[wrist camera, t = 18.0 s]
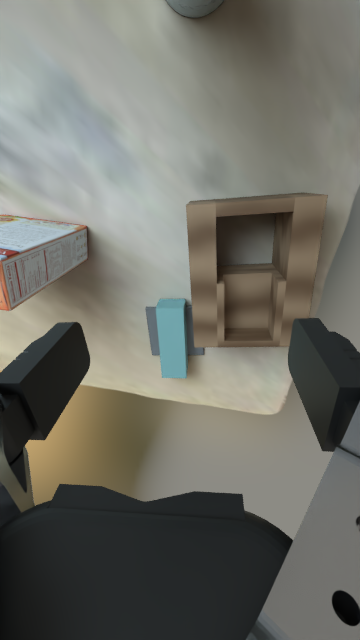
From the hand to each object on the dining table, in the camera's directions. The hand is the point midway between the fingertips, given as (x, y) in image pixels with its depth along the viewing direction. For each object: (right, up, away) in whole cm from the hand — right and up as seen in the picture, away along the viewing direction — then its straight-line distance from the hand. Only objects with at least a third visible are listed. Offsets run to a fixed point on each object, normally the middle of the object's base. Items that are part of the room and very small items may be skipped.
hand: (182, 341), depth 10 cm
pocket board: (+10, +10, +33) cm, 36 cm away
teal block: (-1, -2, +40) cm, 40 cm away
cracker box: (-22, +15, +35) cm, 44 cm away
